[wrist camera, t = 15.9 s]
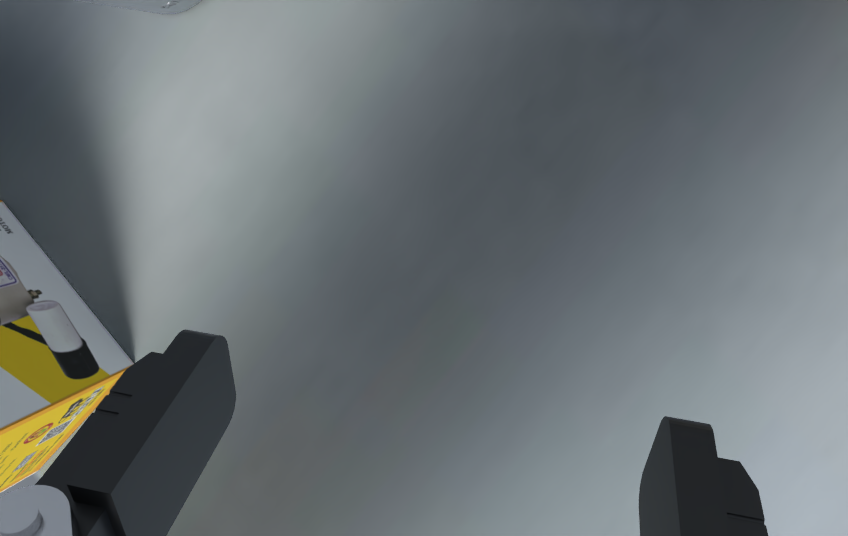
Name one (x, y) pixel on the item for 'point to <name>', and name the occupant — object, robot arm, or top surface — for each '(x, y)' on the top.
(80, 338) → the packaging box
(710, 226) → the top surface
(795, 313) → the top surface
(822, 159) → the top surface
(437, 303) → the top surface
